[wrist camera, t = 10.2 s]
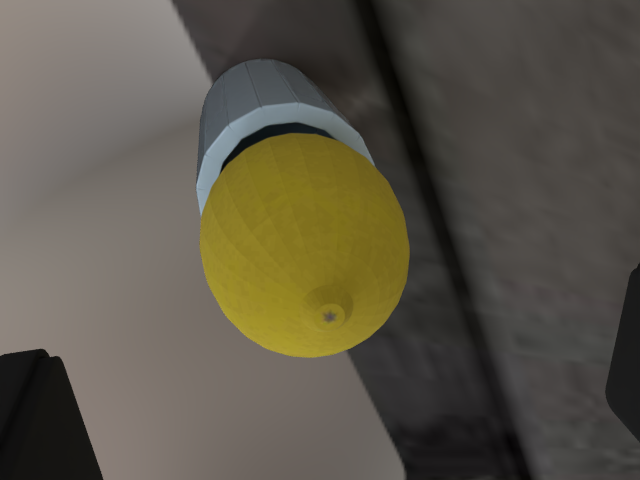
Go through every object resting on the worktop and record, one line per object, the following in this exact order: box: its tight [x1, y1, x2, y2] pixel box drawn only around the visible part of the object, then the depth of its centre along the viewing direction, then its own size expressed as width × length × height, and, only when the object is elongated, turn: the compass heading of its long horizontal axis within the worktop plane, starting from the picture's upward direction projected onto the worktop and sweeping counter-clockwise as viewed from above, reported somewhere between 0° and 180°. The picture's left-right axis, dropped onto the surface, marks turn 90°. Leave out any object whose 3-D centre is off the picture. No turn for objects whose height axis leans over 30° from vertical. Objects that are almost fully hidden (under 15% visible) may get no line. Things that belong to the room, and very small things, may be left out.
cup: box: [196, 59, 375, 217], centre depth 22 cm, size 6×6×9 cm
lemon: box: [200, 133, 410, 358], centre depth 16 cm, size 6×6×8 cm
